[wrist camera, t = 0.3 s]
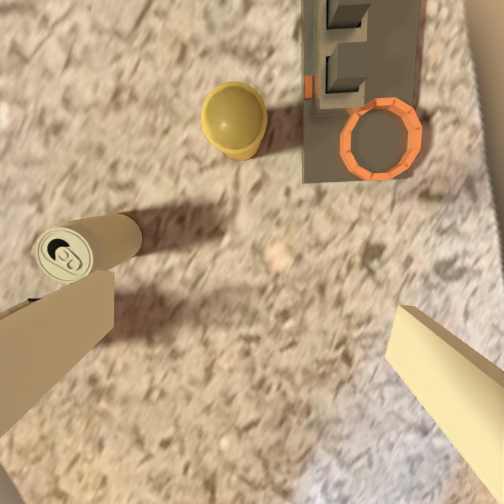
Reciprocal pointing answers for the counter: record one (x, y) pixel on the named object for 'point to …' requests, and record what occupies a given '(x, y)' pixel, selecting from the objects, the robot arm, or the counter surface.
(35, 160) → the counter surface
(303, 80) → the breaker panel
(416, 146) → the orange ring
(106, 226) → the beverage can
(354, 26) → the block
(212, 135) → the cap
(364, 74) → the block
